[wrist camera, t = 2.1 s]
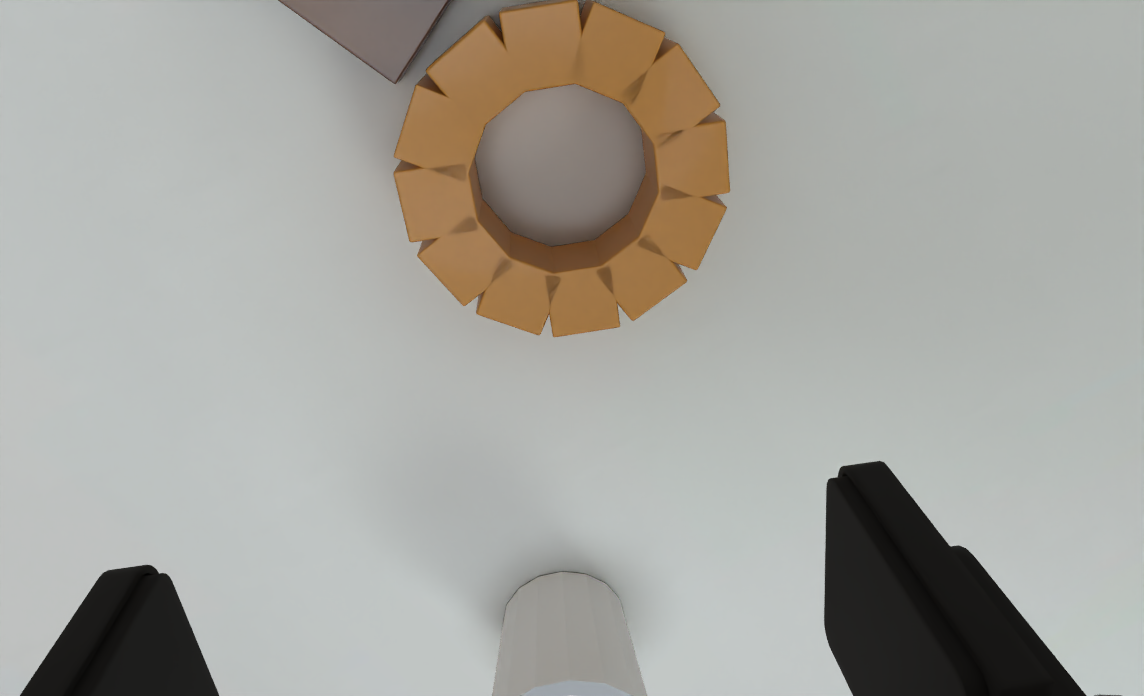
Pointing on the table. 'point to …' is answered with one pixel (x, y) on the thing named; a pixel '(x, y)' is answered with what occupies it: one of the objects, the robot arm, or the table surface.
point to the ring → (579, 270)
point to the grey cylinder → (566, 641)
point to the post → (375, 28)
